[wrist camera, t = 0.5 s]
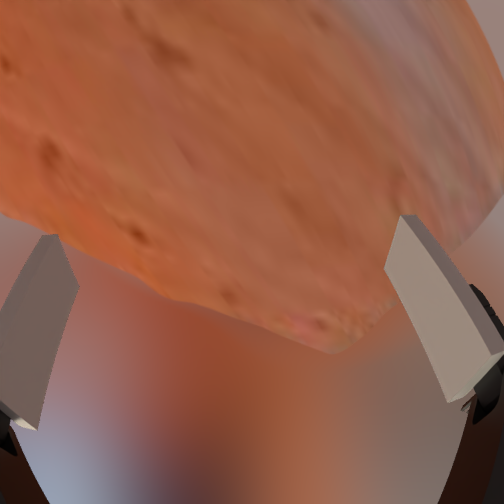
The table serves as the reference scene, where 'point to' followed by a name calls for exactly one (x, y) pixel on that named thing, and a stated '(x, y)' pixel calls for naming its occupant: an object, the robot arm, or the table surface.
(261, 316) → the table surface
